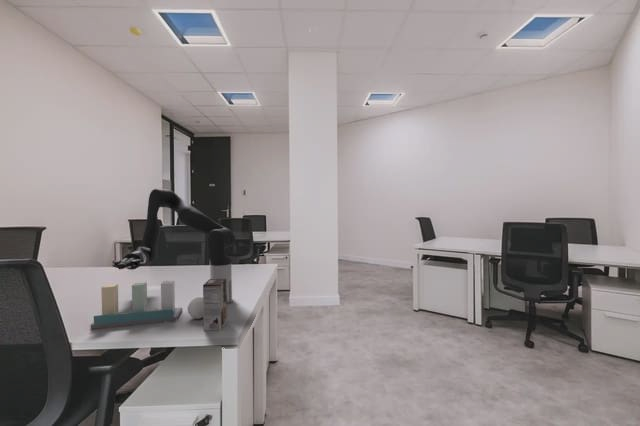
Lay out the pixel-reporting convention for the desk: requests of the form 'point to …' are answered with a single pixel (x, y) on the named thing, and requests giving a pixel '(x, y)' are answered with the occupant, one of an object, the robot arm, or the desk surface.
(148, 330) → the desk surface
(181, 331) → the desk surface
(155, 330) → the desk surface
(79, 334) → the desk surface
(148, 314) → the keypad base
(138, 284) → the key sage
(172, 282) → the light grey tall block
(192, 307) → the ball
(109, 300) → the block
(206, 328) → the coffee box
